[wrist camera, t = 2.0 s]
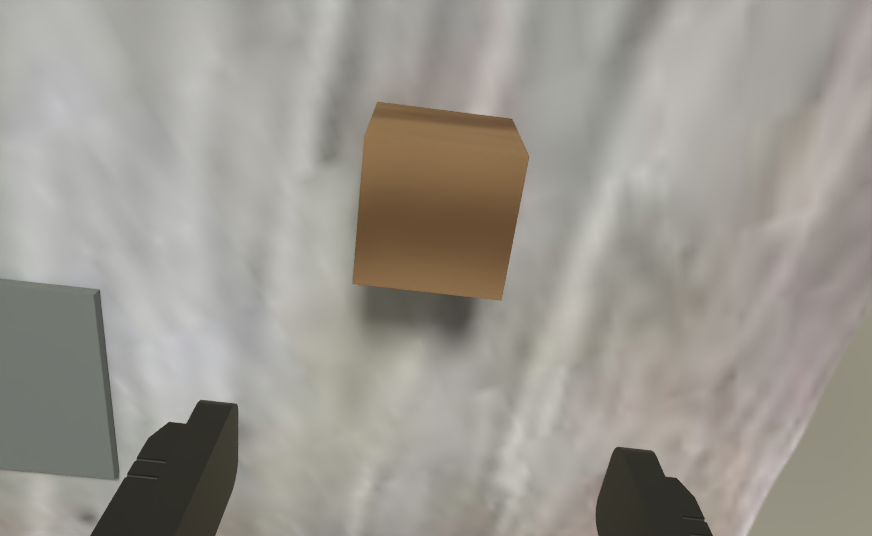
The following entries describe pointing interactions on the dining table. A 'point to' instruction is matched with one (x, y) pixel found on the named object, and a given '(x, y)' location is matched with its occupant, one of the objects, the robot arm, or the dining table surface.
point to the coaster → (54, 382)
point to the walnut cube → (438, 201)
